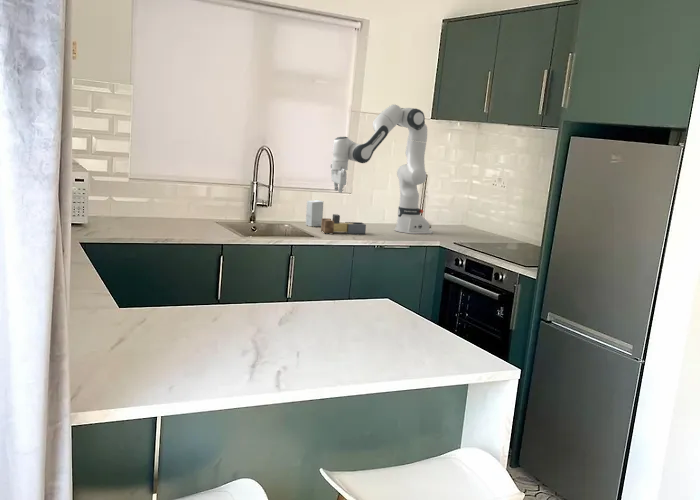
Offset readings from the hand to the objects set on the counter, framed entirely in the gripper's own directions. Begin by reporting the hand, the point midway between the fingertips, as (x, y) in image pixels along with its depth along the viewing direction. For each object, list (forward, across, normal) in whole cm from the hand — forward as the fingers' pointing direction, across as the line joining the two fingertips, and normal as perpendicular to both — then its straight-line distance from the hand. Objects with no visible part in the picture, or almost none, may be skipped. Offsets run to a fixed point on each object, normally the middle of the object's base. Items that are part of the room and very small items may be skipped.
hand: (338, 191), depth 392 cm
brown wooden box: (+23, 0, +5) cm, 24 cm away
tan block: (+23, 0, -3) cm, 23 cm away
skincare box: (+23, +22, +8) cm, 33 cm away
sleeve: (+23, 0, -11) cm, 26 cm away
